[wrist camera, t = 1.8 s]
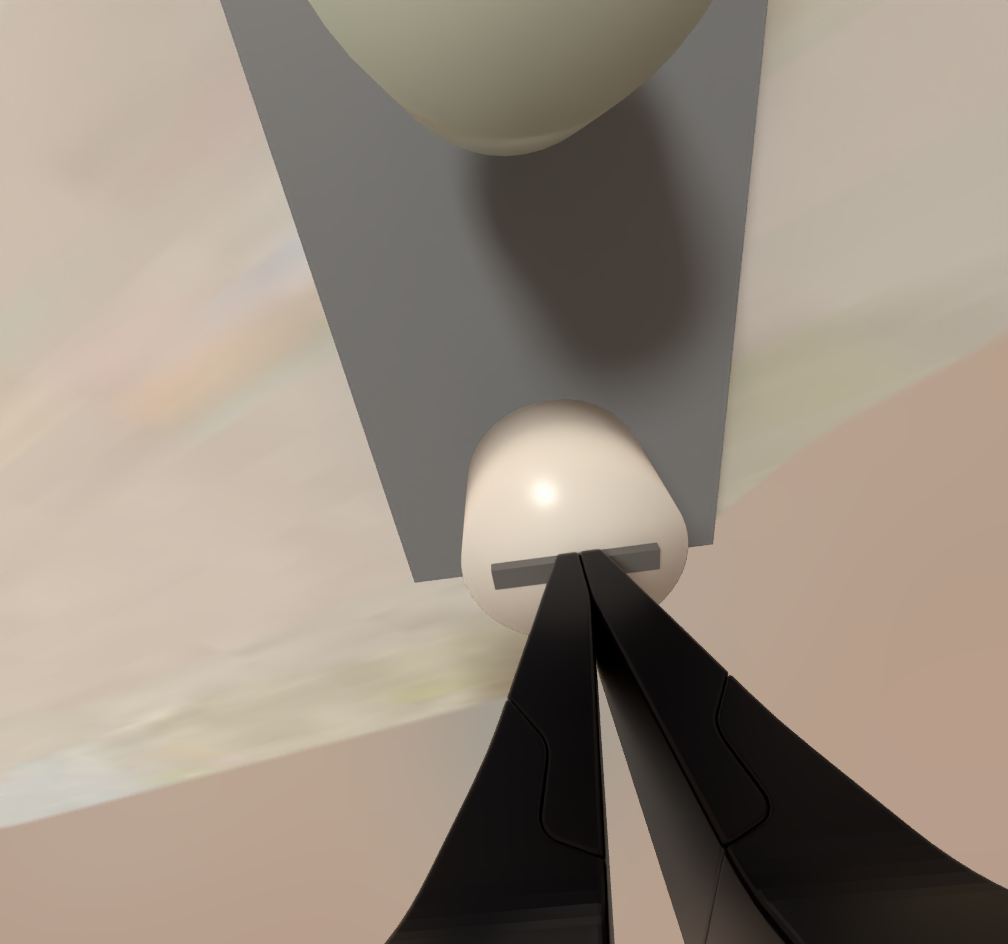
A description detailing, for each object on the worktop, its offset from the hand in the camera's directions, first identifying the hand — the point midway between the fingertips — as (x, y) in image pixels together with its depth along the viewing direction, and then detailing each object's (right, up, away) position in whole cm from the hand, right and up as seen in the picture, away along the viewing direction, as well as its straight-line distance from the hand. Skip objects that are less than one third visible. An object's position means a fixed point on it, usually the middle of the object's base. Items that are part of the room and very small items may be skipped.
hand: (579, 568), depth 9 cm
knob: (0, +3, +6) cm, 7 cm away
